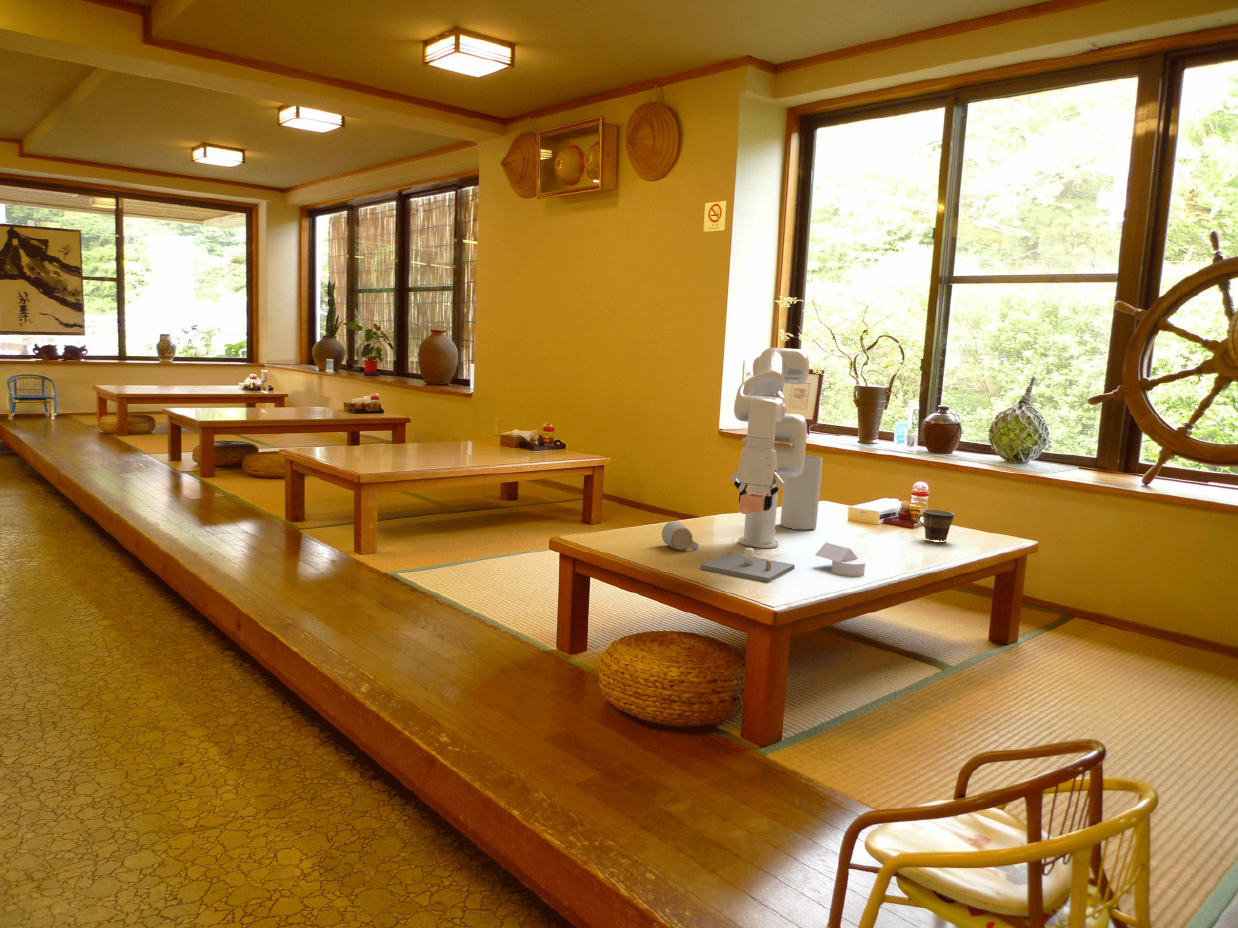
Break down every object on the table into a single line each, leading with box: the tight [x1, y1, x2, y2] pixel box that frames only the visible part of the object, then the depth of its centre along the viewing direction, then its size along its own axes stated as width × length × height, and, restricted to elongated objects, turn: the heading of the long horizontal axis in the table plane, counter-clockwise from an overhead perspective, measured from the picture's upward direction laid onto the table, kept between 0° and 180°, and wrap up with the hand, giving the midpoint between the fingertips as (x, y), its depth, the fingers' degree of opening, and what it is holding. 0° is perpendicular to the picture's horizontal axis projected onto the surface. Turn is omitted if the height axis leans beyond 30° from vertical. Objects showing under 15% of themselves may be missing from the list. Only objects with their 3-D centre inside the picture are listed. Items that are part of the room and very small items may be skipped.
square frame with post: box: [739, 493, 770, 515], centre depth 240 cm, size 11×6×4 cm, turn 150°
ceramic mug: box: [661, 520, 700, 551], centre depth 265 cm, size 11×8×8 cm
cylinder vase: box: [779, 454, 824, 531], centre depth 309 cm, size 12×12×25 cm
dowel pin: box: [766, 559, 772, 570], centre depth 240 cm, size 1×1×2 cm
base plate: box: [699, 547, 796, 583], centre depth 244 cm, size 20×20×6 cm
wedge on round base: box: [814, 542, 866, 577], centre depth 250 cm, size 9×7×13 cm
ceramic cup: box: [917, 509, 955, 541], centre depth 300 cm, size 13×10×10 cm
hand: (754, 507), depth 242 cm, fingers closed on square frame with post, 6 cm apart
